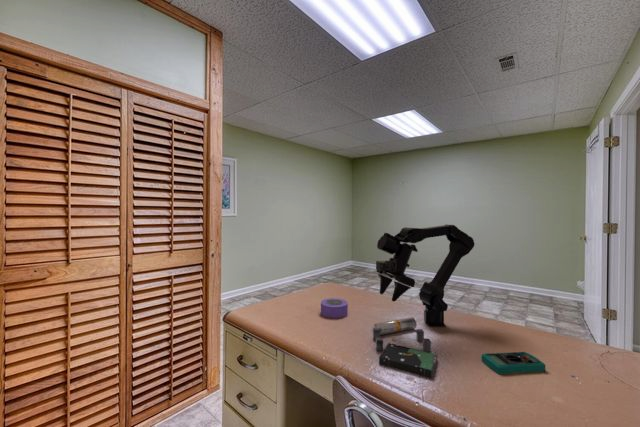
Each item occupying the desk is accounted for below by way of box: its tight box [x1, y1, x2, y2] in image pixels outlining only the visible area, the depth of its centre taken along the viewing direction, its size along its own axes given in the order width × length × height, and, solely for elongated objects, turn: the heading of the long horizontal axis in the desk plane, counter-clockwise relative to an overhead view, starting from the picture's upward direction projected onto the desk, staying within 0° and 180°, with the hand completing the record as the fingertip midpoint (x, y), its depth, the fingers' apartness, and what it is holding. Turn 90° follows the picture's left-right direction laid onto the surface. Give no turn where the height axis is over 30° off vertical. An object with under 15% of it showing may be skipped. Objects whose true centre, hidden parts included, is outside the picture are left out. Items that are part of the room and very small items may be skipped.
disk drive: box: [378, 342, 438, 379], centre depth 83 cm, size 10×3×15 cm
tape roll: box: [320, 297, 349, 319], centre depth 123 cm, size 12×12×5 cm
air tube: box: [373, 316, 417, 336], centre depth 104 cm, size 16×4×4 cm, turn 111°
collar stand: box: [372, 327, 432, 353], centre depth 94 cm, size 17×10×4 cm, turn 86°
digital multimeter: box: [481, 351, 546, 375], centre depth 81 cm, size 7×15×3 cm, turn 95°
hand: (386, 297), depth 106 cm, fingers open, 9 cm apart
